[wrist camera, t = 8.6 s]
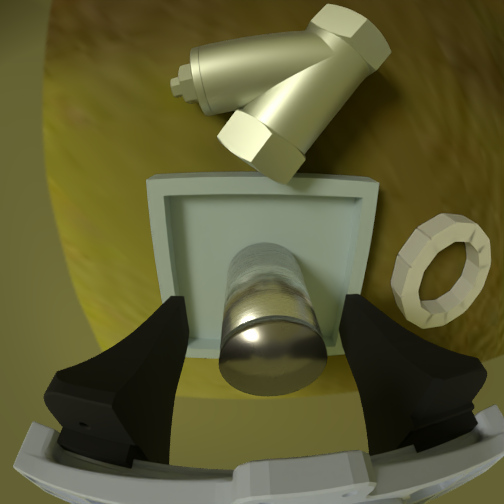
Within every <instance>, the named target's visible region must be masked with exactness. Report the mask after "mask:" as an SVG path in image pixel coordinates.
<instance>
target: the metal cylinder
mask: <svg viewBox="0 0 504 504" xmlns="http://www.w3.org/2000/svg"><path fill="white" fill-rule="evenodd" d="M326 363H327V349H326V346H325V343H324V340H323V336H322V333H321V330H320V327H319V324H318V321H317V317H316V314H315V311H314V308H313V305H312V302H311V299H310V296H309V293H308V290H307V287H306V284H305V281H304V278H303V275H302V272H301V269H300V266H299V263H298V261H297V259H296V257H295V256H294V255H293V254H292V253H291V252H290V251H289V250H288V249H286V248H285V247H283V246H281V245H278V244H274V243H268V242H262V243H256V244H252V245H249V246H247V247H245V248H243V249H242V250H240V251H239V252H238V253H237V254H236V255H235V256H234V257H233V259H232V260H231V262H230V264H229V267H228V271H227V281H226V291H225V301H224V311H223V321H222V332H221V343H220V354H219V369H220V372H221V374H222V376H223V378H224V379H225V380H226V381H227V382H228V383H229V384H230V385H231V386H233V387H234V388H236V389H238V390H240V391H242V392H245V393H248V394H252V395H257V396H279V395H285V394H289V393H292V392H295V391H298V390H300V389H302V388H304V387H306V386H308V385H309V384H311V383H312V382H313V381H314V380H316V379H317V378H318V377H319V375H320V374H321V373H322V371H323V370H324V368H325V366H326Z"/></svg>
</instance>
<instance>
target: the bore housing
mask: <svg viewBox="0 0 504 504" xmlns="http://www.w3.org/2000/svg"><path fill="white" fill-rule="evenodd" d="M454 242H465V246H466V255H467V260H466V263H465V266H464V269H463V272H462V276H461V277H460V278H459V280H458V281H457V282H456V284H455V285H454V286H453V288H452V289H451V290H450V291H449V292H447V293H446V294H444V295H442V296H441V297H439V298H438V299H436V300H427V301H421V300H420V299H419V294H418V290H419V287H420V283H421V280H422V277H423V273H424V271H425V269H426V268H427V267H428V265H429V264H430V263H431V261H432V260H433V259H434V257H435V256H436V254H437V253H438V252H439V251H441V250H443V249H444V248H446V247H447V246H449V245H450V244H452V243H454ZM398 254H399V255H397V258H396V263H395V267H394V271H393V275H392V279H391V287H392V291H393V294H394V297H395V301H396V304H397V306H398V307H399V309H400V310H401V312H402V313H403V315H404V316H405V318H406V319H407V320H408V321H410V322H412V323H413V324H415V325H417V326H419V327H420V328H423V329H425V328H432V327H438V326H443V325H446V324H447V323H449V322H450V321H452V320H453V319H455V318H456V317H458V316H459V315H461V314H462V313H464V312H465V310H467V309H468V307H469V306H470V305H471V304H472V302H473V301H474V300H475V298H476V297H477V296H478V294H479V293H480V292H481V289H482V288H483V286H484V283H485V280H486V277H487V274H488V272H489V269H490V266H491V265H490V264H491V253H490V241H489V238H488V237H487V236H486V234H485V233H484V232H483V230H482V229H481V228H480V227H479V225H478V224H476V223H475V222H473V221H471V220H470V219H468V218H466V217H465V216H463V215H456V214H445V213H442V214H439V215H437V216H436V217H434V218H432V219H430V220H429V221H427V222H425V223H424V224H422V225H420V226H418V230H417V229H415V231H414V232H413V233H412V235H411V236H410V238H409V239H408V240H407V242H406V243H405V245H404V246H403V247H402V249H401V250H400V252H399V253H398Z"/></svg>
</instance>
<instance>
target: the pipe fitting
mask: <svg viewBox="0 0 504 504" xmlns="http://www.w3.org/2000/svg"><path fill="white" fill-rule="evenodd" d="M390 53H391V50H390V48H389V46H388V44H387V42H386V40H385V38H384V37H383V35H382V34H381V32H380V31H379V30H378V29H377V28H376V27H375V26H374V25H373V24H372V23H371V22H370V21H369V20H368V19H366V18H365V17H363V16H362V15H360V14H358V13H356V12H354V11H352V10H350V9H347V8H344V7H341V6H337V5H332V4H327V5H326V6H325V7H324V8H323V9H322V10H321V11H320V12H319V13H318V14H317V15H316V16H315V17H314V18H313V19H312V20H311V21H310V23H309V25H308V26H307V29H306V31H295V32H283V33H274V34H265V35H257V36H250V37H244V38H238V39H232V40H227V41H222V42H217V43H212V44H207V45H203V46H199V47H195V48H192V50H191V52H190V64H187V65H183V66H180V68H179V72H178V77H177V78H173V79H171V90H172V93H173V95H174V97H177V98H178V97H181V96H183V98H184V100H185V101H186V102H187V103H189V104H193V103H197V102H199V105H200V107H201V109H202V111H203V113H204V114H205V115H206V116H211V115H215V114H221V113H226V112H231V111H235V112H234V114H233V115H232V116H231V118H230V119H229V121H228V122H227V123H226V125H225V126H224V127H223V129H222V130H221V132H220V133H219V134H218V136H217V138H218V140H219V142H220V143H221V144H222V145H224V146H225V147H226V148H227V149H228V150H230V151H231V152H232V153H234V154H235V155H236V156H238V157H239V158H240V159H242V160H243V161H244V162H246V163H247V164H249V165H250V166H252V167H253V168H254V169H256V170H257V171H259V172H260V173H262V174H263V175H265V176H267V177H268V178H270V179H271V180H273V181H275V182H277V183H279V184H281V185H286V184H287V183H288V182H289V181H290V179H291V178H292V177H293V175H294V174H295V173H296V172H297V170H298V169H299V168H300V166H301V165H302V164H303V163H304V161H305V160H306V156H305V153H306V152H307V151H308V149H309V148H310V147H311V146H312V144H313V143H314V142H315V140H316V139H317V138H318V137H319V135H320V134H321V133H322V132H323V130H324V129H325V128H326V126H327V125H328V124H329V123H330V121H331V120H332V119H333V118H334V116H335V115H336V114H337V113H338V111H339V110H340V109H341V108H342V106H343V105H344V104H345V103H346V101H347V100H348V99H349V98H350V96H351V95H352V94H353V93H354V91H355V90H356V89H357V88H358V86H359V85H360V84H361V83H362V81H363V80H364V79H365V78H366V77H367V76H369V75H371V74H372V73H374V72H375V71H376V70H377V69H378V68H379V67H380V65H381V64H382V63H383V62H384V61H385V59H386V58H387V57H388V56H389V54H390Z"/></svg>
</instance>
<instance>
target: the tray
mask: <svg viewBox="0 0 504 504" xmlns="http://www.w3.org/2000/svg"><path fill="white" fill-rule="evenodd" d="M146 184H147V195H148V206H149V215H150V224H151V232H152V240H153V248H154V255H155V262H156V268H157V274H158V281H159V287H160V292H161V298H162V303H164V302H165V301H166V300H167V299H168V298H169V297H170V296H184V298H185V305H186V312H187V319H188V325H189V331H190V332H189V339H188V347H187V352H186V356H185V357H192V358H219V354H220V343H221V332H222V321H223V311H224V301H225V291H226V281H227V271H228V267H229V264H230V262H231V260H232V259H233V257H234V256H235V255H236V254H237V253H238V252H239V251H240V250H242V249H243V248H245V247H247V246H249V245H252V244H256V243H262V242H268V243H274V244H278V245H281V246H283V247H285V248H286V249H288V250H289V251H290V252H291V253H292V254H293V255H294V256H295V257H296V259H297V261H298V263H299V266H300V269H301V272H302V275H303V278H304V281H305V284H306V287H307V290H308V293H309V296H310V299H311V302H312V305H313V308H314V311H315V314H316V317H317V321H318V324H319V327H320V330H321V333H322V336H323V340H324V343H325V346H326V349H327V356H330V355H342V354H345V352H344V350H343V347H342V343H341V338H340V334H339V325H340V320H341V316H342V311H343V306H344V301H345V296H346V294H359V295H360V293H361V289H362V284H363V280H364V275H365V270H366V265H367V260H368V255H369V249H370V244H371V238H372V232H373V225H374V219H375V212H376V205H377V197H378V189H379V182H377V181H375V180H373V179H371V178H369V177H361V176H348V175H333V174H316V173H295V174H294V175H293V177H292V178H291V179H290V181H289V182H288V183H287V184H286V185H281V184H279V183H277V182H275V181H273V180H271V179H270V178H268V177H267V176H265V175H263V174H262V173H260V172H196V173H173V174H155V175H153V176H152V177H150V178H148V179H147V180H146Z"/></svg>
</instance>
